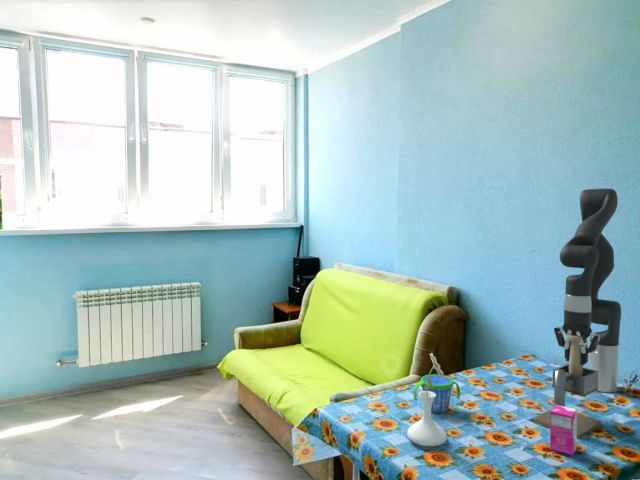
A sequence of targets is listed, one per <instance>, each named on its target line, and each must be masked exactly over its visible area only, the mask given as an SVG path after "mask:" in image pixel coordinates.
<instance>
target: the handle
mask: <svg viewBox="0 0 640 480" xmlns="http://www.w3.org/2000/svg"><path fill="white" fill-rule="evenodd" d="M565 335H566V334H565ZM582 338H583V337H582ZM566 339H567V340H569V341H570V342H571V346H570V357H569V361H568V364H569V373H571V374H575V375H579V376H582V372H583V368H584V365H581V353H582V351H581V347H580V346H579V342H581V337H577V336H574V335H566V336H565V340H566ZM586 340H588V338H587V339H586ZM586 340H584V341H583V342H585V341H586Z"/></svg>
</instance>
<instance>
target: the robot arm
mask: <svg viewBox="0 0 640 480" xmlns="http://www.w3.org/2000/svg"><path fill="white" fill-rule="evenodd" d="M579 196H580V197H579V207H580V208H579V209H580V216H581V223H579V224H578V227H577V228H576V231H575V232H574V236H573V237H572V238H571V239H569V240H568V242H566V244H564V245H563V247H562V248H561V250H560V252H559V261H560V262H561V264H562V265H563V266H564V267H566V268H573V269H574V268H575V269H583V272H582V273H579V274H572V275H568V276H567V277H566V278H565V294H564V301H563V325H562V326H556V327H554V328H553V332H554V334H555V338H556V342H557V345H558V347H562V348H563V349H564V359H565V361H566V362H569V357H570V346H571V342H570V341H569V340H567V339H566V338H565V337H564V334H565V335H574V336H577V337H581V342H579V346H580V347H581V351H582V353H581V365H583V366H585V365H586V364H588V369H591V370H595V371H599V372H598V390H596V392H597V391H598V392H602V393H615V392H617V391H618V375H619V373H618V371H619V370H618V369H619V349H620V348H619V343H620V342H619V341H620V331H621V329H620V328H621V320H622V319H621V318H622V306H621V304H620V303H619V302H618V301H615V300H609V299H602V298H601V299H599V291H600V289H601V287H602V285H603V284H604V283H605V281H606V280H607V279H608V278H609V277H610V275H611V274H612V272H613V270H614V268H615V256H614V255H615V254H614V253H615V252H614V249H613V246H612V245H611V243H610V241H608V239H607V238H606V237H605V236H604V235H603V233H602V232H603V231H604V229H605V227H606V226H607V224H608V223H609V222H610V220H611V219H612V217H614V214H615V213H616V211H617V208H618V194H617V191H616V190H615V189H613V188H589V189H588V188H587V189H583V190H582V191H581V193H580V195H579ZM592 324H596V325H603V326H607V328H606V330H602V331H596V332H594V331H593V330H592V328H591V325H592ZM582 337H583V338H582ZM588 338H589V339H588ZM586 339H587V340H586ZM584 340H586V341H585V342H583V341H584ZM588 340H589V341H588Z"/></svg>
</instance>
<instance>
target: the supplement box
mask: <svg viewBox="0 0 640 480" xmlns="http://www.w3.org/2000/svg"><path fill="white" fill-rule="evenodd" d="M551 409H552V410H551ZM551 409H550V410H551V411H550V428H549V430H550V431H549V439H550V440H549V444H550V446H549V449H550V451H551V452H554V453H558V454H560V455H565V456H568V457H571V458H573V456H574V455H575V454H576V451H577V450H578V449H577V446H578V445H577V444H578V443H577V441H578V438H577V413H578V412H577V409H576V408H573V407H568V406H565V407H564V406H559V405H555V406H554V405H553V407H552V408H551Z"/></svg>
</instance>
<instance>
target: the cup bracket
mask: <svg viewBox="0 0 640 480" xmlns="http://www.w3.org/2000/svg"><path fill="white" fill-rule="evenodd" d="M598 372H599V371H595V370H591V369H589V368H587V367H583V372H582V376H579V375H575V374H571V373H569V363H565V364H563V365H560V366H558V367H555V368H553V369H552V385H551V387H552V388H553V391H554V393H553V407H554V406H555V405H559V406H564V407H566V393H570V394H573V395H577V396H580V397H583V398H585V397H586V396H588V395H589V394H592V393H595V392H597V390H598ZM551 410H552V408H551V409H549V410H546V411H545V412H543V413H541V414H539V415H538V416H536V417H534V418H533V419H532V420H533V421H532V423H534V424H537V425H540V426H542V427H545V428H548V429H550V411H551ZM602 425H603V421H602V420H599V419H596V418H593V417H591V416H587V415H584V414H582V413H578V412H577V440H578V439H579V440H581V439H582V438H584V437H585V436H587V435H589V434H591V433H593V431H595V430H596V429H598V428H599V427H601V426H602Z"/></svg>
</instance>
